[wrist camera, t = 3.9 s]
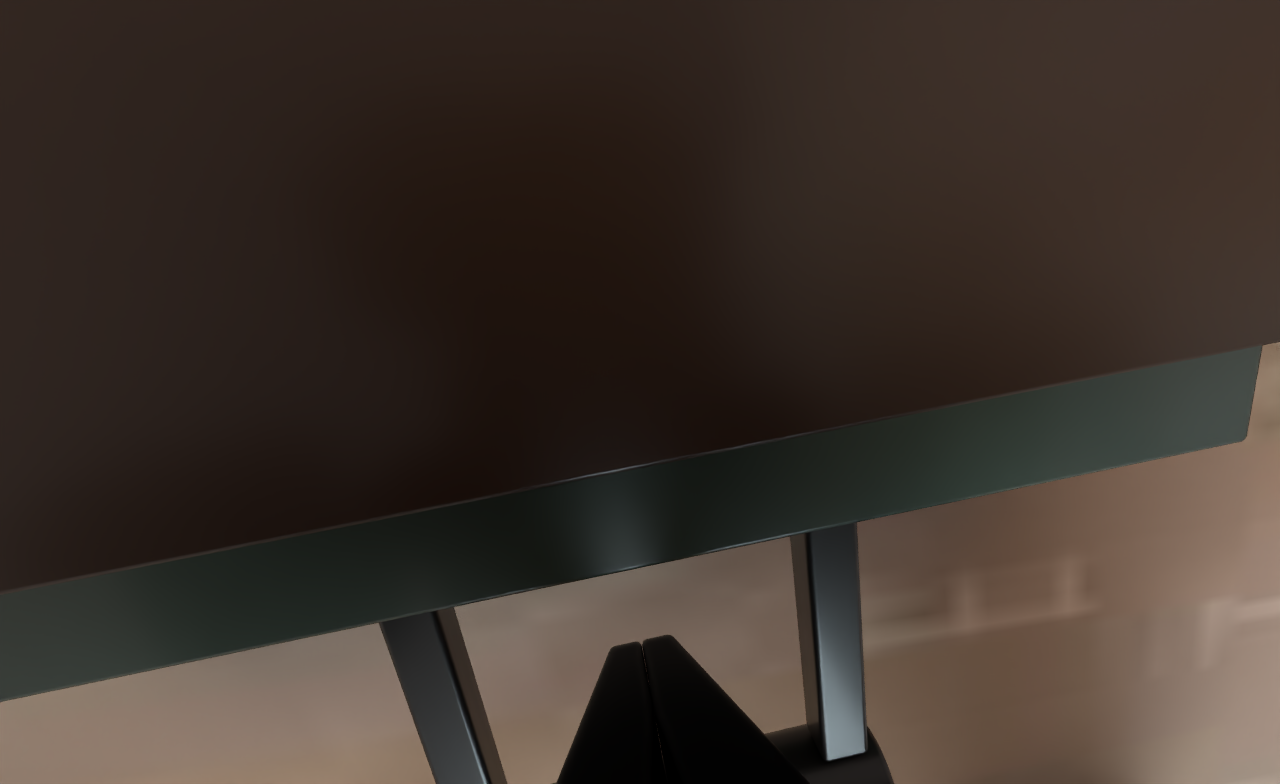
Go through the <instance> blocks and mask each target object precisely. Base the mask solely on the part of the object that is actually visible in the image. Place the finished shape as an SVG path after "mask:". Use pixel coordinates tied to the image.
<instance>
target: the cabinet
mask: <svg viewBox="0 0 1280 784" xmlns="http://www.w3.org/2000/svg"><path fill="white" fill-rule="evenodd" d="M1276 342H1280V0H0V595H3V594H8V593H13V592H18V591H23V590H28V589H33V588H38V587H43V586H48V585H53V584H58V583H64V582H69V581H74V580H79V579H84V578H89V577H94V576H99V575H104V574H109V573H114V572H119V571H124V570H129V569H134V568H139V567H144V566H149V565H154V564H160V563H165V562H170V561H175V560H180V559H185V558H190V557H195V556H200V555H205V554H210V553H215V552H220V551H225V550H230V549H235V548H240V547H245V546H250V545H256V544H261V543H266V542H271V541H276V540H281V539H286V538H291V537H296V536H301V535H306V534H311V533H316V532H321V531H326V530H331V529H336V528H341V527H347V526H352V525H357V524H362V523H367V522H372V521H377V520H382V519H387V518H392V517H397V516H402V515H407V514H412V513H417V512H422V511H427V510H432V509H437V508H443V507H448V506H453V505H458V504H463V503H468V502H473V501H478V500H483V499H488V498H493V497H498V496H503V495H508V494H513V493H518V492H523V491H528V490H533V489H539V488H544V487H549V486H554V485H559V484H564V483H569V482H574V481H579V480H584V479H589V478H594V477H599V476H604V475H609V474H614V473H619V472H624V471H630V470H635V469H640V468H645V467H650V466H655V465H660V464H665V463H670V462H675V461H680V460H685V459H690V458H695V457H700V456H705V455H710V454H715V453H720V452H726V451H731V450H736V449H741V448H746V447H751V446H756V445H761V444H766V443H771V442H776V441H781V440H786V439H791V438H796V437H801V436H806V435H811V434H816V433H822V432H827V431H832V430H837V429H842V428H847V427H852V426H857V425H862V424H867V423H872V422H877V421H882V420H887V419H892V418H897V417H902V416H907V415H913V414H918V413H923V412H928V411H933V410H938V409H943V408H948V407H953V406H958V405H963V404H968V403H973V402H978V401H983V400H988V399H993V398H998V397H1003V396H1009V395H1014V394H1019V393H1024V392H1029V391H1034V390H1039V389H1044V388H1049V387H1054V386H1059V385H1064V384H1069V383H1074V382H1079V381H1084V380H1089V379H1094V378H1100V377H1105V376H1110V375H1115V374H1120V373H1125V372H1130V371H1135V370H1140V369H1145V368H1150V367H1155V366H1160V365H1165V364H1170V363H1175V362H1180V361H1185V360H1190V359H1196V358H1201V357H1206V356H1211V355H1216V354H1221V353H1226V352H1231V351H1236V350H1241V349H1246V348H1251V347H1256V346H1261V345H1266V344H1271V343H1276Z"/></svg>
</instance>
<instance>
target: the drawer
mask: <svg viewBox="0 0 1280 784" xmlns="http://www.w3.org/2000/svg"><path fill="white" fill-rule="evenodd" d="M1261 351H1262V345H1261V346H1256V347H1251V348H1246V349H1241V350H1236V351H1231V352H1226V353H1221V354H1216V355H1211V356H1206V357H1201V358H1196V359H1190V360H1185V361H1180V362H1175V363H1170V364H1165V365H1160V366H1155V367H1150V368H1145V369H1140V370H1135V371H1130V372H1125V373H1120V374H1115V375H1110V376H1105V377H1100V378H1094V379H1089V380H1084V381H1079V382H1074V383H1069V384H1064V385H1059V386H1054V387H1049V388H1044V389H1039V390H1034V391H1029V392H1024V393H1019V394H1014V395H1009V396H1003V397H998V398H993V399H988V400H983V401H978V402H973V403H968V404H963V405H958V406H953V407H948V408H943V409H938V410H933V411H928V412H923V413H918V414H913V415H907V416H902V417H897V418H892V419H887V420H882V421H877V422H872V423H867V424H862V425H857V426H852V427H847V428H842V429H837V430H832V431H827V432H822V433H816V434H811V435H806V436H801V437H796V438H791V439H786V440H781V441H776V442H771V443H766V444H761V445H756V446H751V447H746V448H741V449H736V450H731V451H726V452H720V453H715V454H710V455H705V456H700V457H695V458H690V459H685V460H680V461H675V462H670V463H665V464H660V465H655V466H650V467H645V468H640V469H635V470H630V471H624V472H619V473H614V474H609V475H604V476H599V477H594V478H589V479H584V480H579V481H574V482H569V483H564V484H559V485H554V486H549V487H544V488H539V489H533V490H528V491H523V492H518V493H513V494H508V495H503V496H498V497H493V498H488V499H483V500H478V501H473V502H468V503H463V504H458V505H453V506H448V507H443V508H437V509H432V510H427V511H422V512H417V513H412V514H407V515H402V516H397V517H392V518H387V519H382V520H377V521H372V522H367V523H362V524H357V525H352V526H347V527H341V528H336V529H331V530H326V531H321V532H316V533H311V534H306V535H301V536H296V537H291V538H286V539H281V540H276V541H271V542H266V543H261V544H256V545H250V546H245V547H240V548H235V549H230V550H225V551H220V552H215V553H210V554H205V555H200V556H195V557H190V558H185V559H180V560H175V561H170V562H165V563H160V564H154V565H149V566H144V567H139V568H134V569H129V570H124V571H119V572H114V573H109V574H104V575H99V576H94V577H89V578H84V579H79V580H74V581H69V582H64V583H58V584H53V585H48V586H43V587H38V588H33V589H28V590H23V591H18V592H13V593H8V594H3V595H0V702H3V701H7V700H12V699H17V698H22V697H26V696H31V695H36V694H41V693H46V692H50V691H55V690H60V689H65V688H69V687H74V686H79V685H84V684H88V683H93V682H98V681H103V680H107V679H112V678H117V677H122V676H127V675H131V674H136V673H141V672H146V671H150V670H155V669H160V668H165V667H169V666H174V665H179V664H184V663H189V662H193V661H198V660H203V659H208V658H212V657H217V656H222V655H227V654H231V653H236V652H241V651H246V650H250V649H255V648H260V647H265V646H269V645H274V644H279V643H284V642H289V641H293V640H298V639H303V638H308V637H312V636H317V635H322V634H327V633H331V632H336V631H341V630H346V629H351V628H355V627H360V626H365V625H370V624H374V623H379V624H380V627H381V630H382V633H383V636H384V639H385V641H386V644H387V647H388V650H389V653H390V655H391V658H392V661H393V664H394V667H395V670H396V672H397V675H398V678H399V681H400V684H401V686H402V689H403V692H404V695H405V698H406V700H407V703H408V706H409V709H410V712H411V715H412V717H413V720H414V723H415V726H416V729H417V731H418V734H419V737H420V740H421V743H422V745H423V748H424V751H425V754H426V757H427V760H428V762H429V765H430V768H431V771H432V774H433V776H434V779H435V782H436V784H507V781H506V777H505V774H504V771H503V767H502V764H501V761H500V758H499V754H498V751H497V748H496V745H495V741H494V738H493V735H492V731H491V728H490V725H489V722H488V718H487V715H486V712H485V708H484V705H483V702H482V699H481V695H480V692H479V689H478V685H477V682H476V679H475V676H474V672H473V669H472V666H471V663H470V659H469V656H468V653H467V649H466V646H465V643H464V640H463V636H462V633H461V630H460V626H459V623H458V620H457V617H456V613H455V610H454V607H455V606H460V605H465V604H470V603H474V602H479V601H484V600H489V599H493V598H498V597H503V596H508V595H512V594H517V593H522V592H527V591H532V590H536V589H541V588H546V587H551V586H555V585H560V584H565V583H570V582H574V581H579V580H584V579H589V578H593V577H598V576H603V575H608V574H613V573H617V572H622V571H627V570H632V569H636V568H641V567H646V566H651V565H655V564H660V563H665V562H670V561H674V560H679V559H684V558H689V557H694V556H698V555H703V554H708V553H713V552H717V551H722V550H727V549H732V548H736V547H741V546H746V545H751V544H755V543H760V542H765V541H770V540H775V539H779V538H784V537H789V536H790V540H791V551H792V563H793V574H794V585H795V596H796V607H797V619H798V630H799V641H800V652H801V663H802V675H803V686H804V697H805V708H806V720H807V724H805V725H800V726H796V727H792V728H787V729H783V730H779V731H775V732H770V733H766V734H765V735H766V736H767V737H768V739H769V740H770V741H771V742H772V743H773V744H774V745H775V746H776V747H777V748H778V749H779V750H780V751H781V752H782V754H783V755H784V756H785V757H786V758H787V759H788V760H789V761H790V762H791V763H792V764H793V765H794V766H795V767H796V768H797V770H798V771H799V772H800V773H801V774H802V775H803V776H804V777H805V778H806V779H807V780H808V781H809V782H810V783H811V784H894V782H893V779H892V776H891V773H890V770H889V767H888V765H887V762H886V760H885V757H884V755H883V753H882V751H881V749H880V747H879V745H878V743H877V741H876V739H875V737H874V736H873V734H872V732H871V731H870V729H869V728H868V726H867V722H866V701H865V681H864V660H863V639H862V619H861V598H860V578H859V557H858V536H857V522H860V521H865V520H870V519H875V518H879V517H884V516H889V515H894V514H898V513H903V512H908V511H913V510H917V509H922V508H927V507H932V506H937V505H941V504H946V503H951V502H956V501H960V500H965V499H970V498H975V497H979V496H984V495H989V494H994V493H999V492H1003V491H1008V490H1013V489H1018V488H1022V487H1027V486H1032V485H1037V484H1041V483H1046V482H1051V481H1056V480H1060V479H1065V478H1070V477H1075V476H1080V475H1084V474H1089V473H1094V472H1099V471H1103V470H1108V469H1113V468H1118V467H1122V466H1127V465H1132V464H1137V463H1141V462H1146V461H1151V460H1156V459H1160V458H1165V457H1170V456H1175V455H1180V454H1184V453H1189V452H1194V451H1199V450H1203V449H1208V448H1213V447H1218V446H1222V445H1227V444H1232V443H1237V442H1242V441H1243V440H1244V439H1245V438H1246V436H1247V431H1248V425H1249V419H1250V414H1251V408H1252V402H1253V397H1254V391H1255V385H1256V379H1257V374H1258V368H1259V362H1260V357H1261ZM663 763H664V761H663ZM664 768H665V767H664ZM665 774H666V772H665ZM666 779H667V777H666ZM556 783H557V782H556ZM556 783H552V784H556ZM667 784H668V782H667Z"/></svg>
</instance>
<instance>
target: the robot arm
mask: <svg viewBox="0 0 1280 784" xmlns="http://www.w3.org/2000/svg"><path fill="white" fill-rule="evenodd" d="M642 647H643V650H642ZM643 653H644V655H643ZM644 659H645V660H644ZM645 664H646V666H645ZM646 670H647V671H646ZM647 675H648V676H647ZM648 681H649V682H648ZM656 724H657V725H656ZM658 735H659V736H658ZM659 740H660V741H659ZM660 745H661V747H660ZM661 751H662V752H661ZM662 756H663V758H662ZM663 761H664V763H663ZM664 767H665V768H664ZM665 772H666V774H665ZM666 777H667V779H666ZM667 782H668V784H811V783H810V782H809V781H808V780H807V779H806V778H805V777H804V776H803V775H802V774H801V773H800V772H799V771H798V770H797V768H796V767H795V766H794V765H793V764H792V763H791V762H790V761H789V760H788V759H787V758H786V757H785V756H784V755H783V754H782V752H781V751H780V750H779V749H778V748H777V747H776V746H775V745H774V744H773V743H772V742H771V741H770V740H769V739H768V737H767V736H766V735H765V734H764V733H763V732H762V731H761V730H760V729H759V728H758V727H757V726H756V725H755V724H754V723H753V721H752V720H751V719H750V718H749V717H748V716H747V715H746V714H745V713H744V712H743V711H742V710H741V709H740V708H739V706H738V705H737V704H736V703H735V702H734V701H733V700H732V699H731V698H730V697H729V696H728V695H727V694H726V693H725V691H724V690H723V689H722V688H721V687H720V686H719V685H718V684H717V683H716V682H715V681H714V680H713V679H712V678H711V677H710V675H709V674H708V673H707V672H706V671H705V670H704V669H703V668H702V667H701V666H700V665H699V664H698V663H697V662H696V660H695V659H694V658H693V657H692V656H691V655H690V654H689V653H688V652H687V651H686V650H685V649H684V648H683V647H682V646H681V644H680V643H679V642H678V641H677V640H676V639H675V638H674V637H673V636H671V635H664V636H659V637H654V638H650V639H646V640H644V641H643V644H642V646H641V644H640V643H639V642H631V643H627V644H622V645H618V646H614V647H612V648H611V649H610V651H609V653H608V656H607V658H606V661H605V663H604V666H603V668H602V671H601V673H600V676H599V678H598V681H597V683H596V686H595V688H594V691H593V693H592V696H591V698H590V701H589V703H588V706H587V708H586V711H585V713H584V716H583V718H582V721H581V723H580V726H579V728H578V731H577V733H576V736H575V738H574V741H573V743H572V745H571V748H570V750H569V753H568V755H567V758H566V760H565V763H564V765H563V768H562V770H561V773H560V775H559V778H558V780H557V783H556V784H667Z"/></svg>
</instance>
